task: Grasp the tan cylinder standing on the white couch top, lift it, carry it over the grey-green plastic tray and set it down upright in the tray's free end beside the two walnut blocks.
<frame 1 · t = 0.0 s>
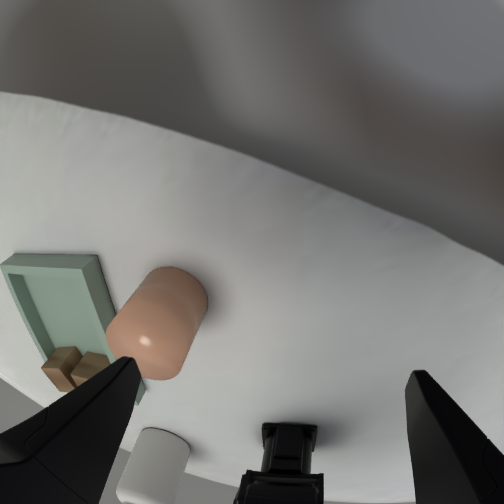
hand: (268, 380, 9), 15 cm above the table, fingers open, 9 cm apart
tan cylinder: (174, 297, 27), on the table
block a: (106, 366, 33), point 1 cm above the table, touching tray
pill bottle: (166, 440, 40), on the table
tray: (76, 326, 31), on the table
block b: (74, 359, 34), point 1 cm above the table, touching tray
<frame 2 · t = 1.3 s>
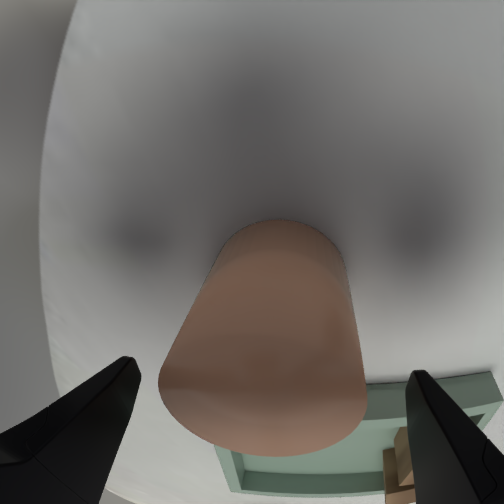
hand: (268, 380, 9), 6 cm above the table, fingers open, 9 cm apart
tan cylinder: (279, 282, 14), on the table
block a: (427, 422, 17), point 1 cm above the table, touching tray
tray: (349, 439, 20), on the table
block b: (406, 454, 19), point 1 cm above the table, touching tray
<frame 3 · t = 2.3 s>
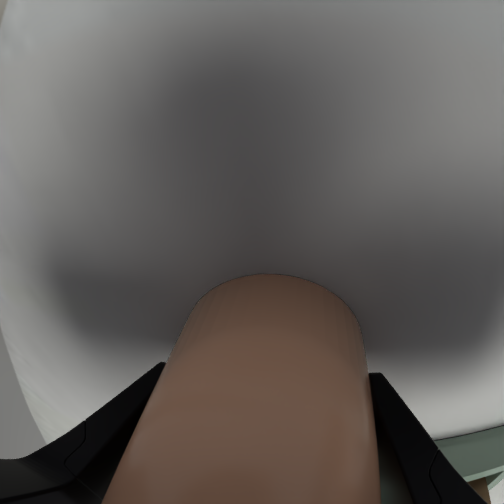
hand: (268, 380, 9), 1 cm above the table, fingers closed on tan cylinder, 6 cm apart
tan cylinder: (272, 350, 10), on the table, touching gripper
block a: (439, 475, 13), point 1 cm above the table, touching tray
tray: (352, 490, 16), on the table
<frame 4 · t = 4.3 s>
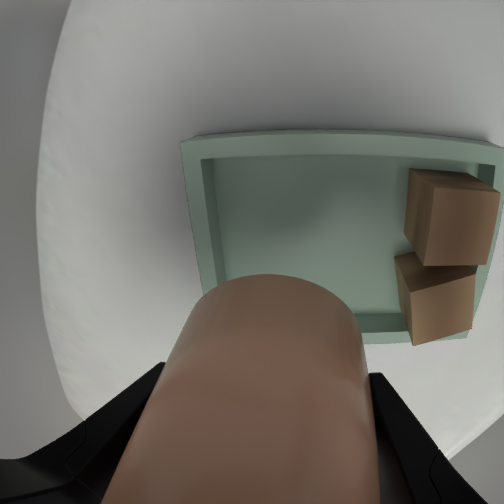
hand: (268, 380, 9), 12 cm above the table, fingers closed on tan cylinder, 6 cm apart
tan cylinder: (272, 350, 10), point 10 cm above the table, touching gripper
block a: (436, 202, 17), point 1 cm above the table, touching tray
tray: (351, 236, 19), on the table
block b: (424, 275, 19), point 1 cm above the table, touching tray
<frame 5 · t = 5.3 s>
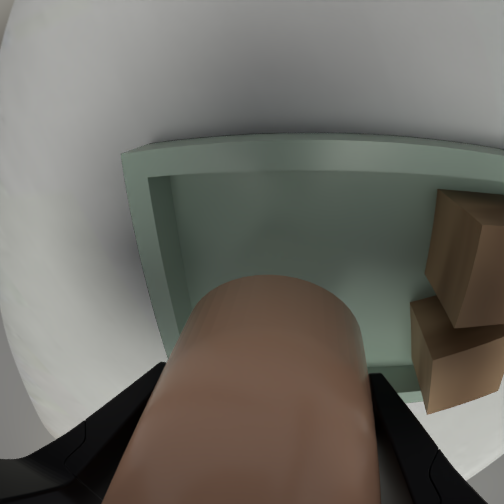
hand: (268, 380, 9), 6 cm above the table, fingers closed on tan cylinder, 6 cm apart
tan cylinder: (272, 351, 10), point 5 cm above the table, touching gripper
block a: (468, 234, 12), point 1 cm above the table, touching tray
tray: (356, 276, 14), on the table
block b: (445, 323, 14), point 1 cm above the table, touching tray
when the fingers open (3 cm above the table, at t = 6.3 s): tan cylinder drops 1 cm, resting on tray.
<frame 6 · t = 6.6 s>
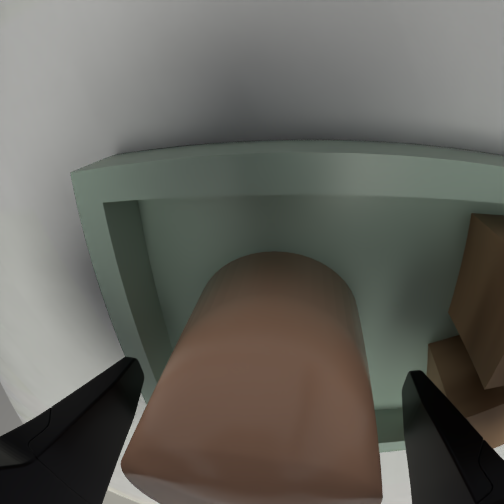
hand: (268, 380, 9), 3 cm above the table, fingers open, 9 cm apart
tan cylinder: (277, 324, 12), point 1 cm above the table, touching tray
block a: (501, 266, 9), point 1 cm above the table, touching tray
tray: (367, 315, 12), on the table
block b: (465, 362, 11), point 1 cm above the table, touching tray
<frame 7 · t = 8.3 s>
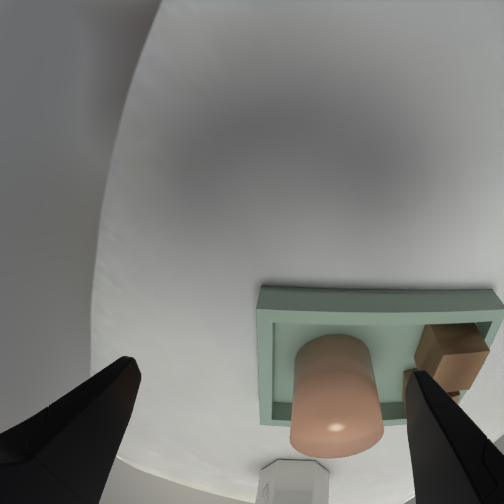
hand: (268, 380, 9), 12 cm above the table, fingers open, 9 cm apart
tan cylinder: (332, 363, 23), point 1 cm above the table, touching tray
block a: (442, 337, 21), point 1 cm above the table, touching tray
tray: (374, 357, 23), on the table
jar: (295, 470, 34), on the table
block b: (424, 380, 23), point 1 cm above the table, touching tray
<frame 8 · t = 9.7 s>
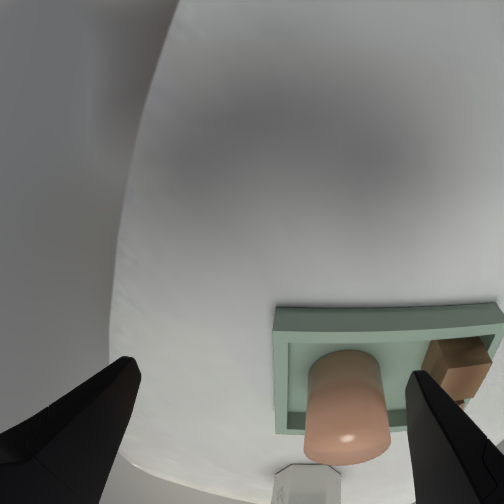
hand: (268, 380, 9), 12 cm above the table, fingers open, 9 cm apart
tan cylinder: (344, 375, 24), point 1 cm above the table, touching tray
block a: (447, 349, 22), point 1 cm above the table, touching tray
tray: (383, 369, 24), on the table
jar: (308, 473, 35), on the table
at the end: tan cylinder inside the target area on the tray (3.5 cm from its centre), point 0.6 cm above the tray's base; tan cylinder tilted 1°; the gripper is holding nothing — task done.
